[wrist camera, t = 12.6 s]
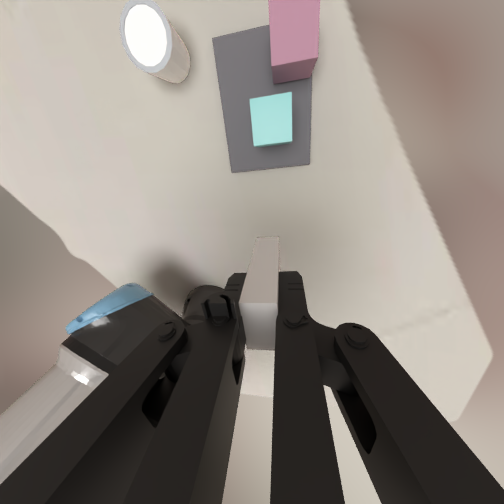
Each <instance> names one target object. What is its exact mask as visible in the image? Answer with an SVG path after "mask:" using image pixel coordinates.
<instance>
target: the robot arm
mask: <svg viewBox="0 0 504 504" xmlns="http://www.w3.org/2000/svg"><path fill="white" fill-rule="evenodd" d="M66 331H67V333H68V334H71V335H70V336H69V337H68V339H66V340H65V341H64V342H63V343H62V344H61V345H59V352H58V359H57V361H56V364H55V365H53V366H52V367H51V368H50V369H49V370H48V371H47V372H46V373H45V374H44V375H43V376H42V377H41V378H40V379H39V380H37V382H36V383H34V385H32V386H31V387H30V388H29V389H28V390H27V391H26V392H25V393H24V394H23V395H22V396H21V397H19V398H18V399H17V400H16V401H15V402H14V403H13V404H12V405H11V406H10V407H9V408H8V409H7V410H6V411H5V412H4V413H2V414H1V415H0V504H222V498H223V492H224V486H225V480H226V474H227V468H228V462H229V456H230V450H231V443H232V438H233V432H234V426H235V420H236V413H237V408H238V402H239V396H240V390H241V384H242V378H243V371H244V365H245V354H244V349H245V344H246V346H247V349H256V350H275V364H274V396H273V429H272V462H271V463H272V464H271V494H270V504H345V501H344V496H343V490H342V485H341V479H340V474H339V468H338V463H337V457H336V452H335V446H334V441H333V435H332V430H331V424H330V420H329V413H328V408H327V402H326V397H325V391H324V386H323V385H326V386H328V387H331V390H332V392H333V394H334V397H335V399H336V401H337V403H338V406H339V408H340V410H341V413H342V415H343V417H344V419H345V422H346V424H347V426H348V428H349V431H350V433H351V435H352V437H353V440H354V442H355V444H356V447H357V449H358V451H359V453H360V456H361V458H362V460H363V462H364V465H365V467H366V469H367V472H368V474H369V476H370V478H371V481H372V483H373V485H374V487H375V490H376V492H377V494H378V496H379V499H380V501H381V503H382V504H504V489H503V488H502V487H501V486H500V484H499V483H498V482H497V481H496V480H495V478H494V477H493V476H492V475H491V474H490V472H489V471H488V470H487V469H486V467H485V466H484V465H483V464H482V463H481V461H480V460H479V459H478V458H477V457H476V455H475V454H474V453H473V452H472V451H471V450H470V448H469V447H468V446H467V445H466V443H465V442H464V441H463V440H462V439H461V437H460V436H459V435H458V434H457V433H456V431H455V430H454V429H453V428H452V427H451V425H450V424H449V423H448V422H447V420H446V419H445V418H444V417H443V416H442V414H441V413H440V412H439V411H438V410H437V408H436V407H435V406H434V405H433V404H432V402H431V401H430V400H429V399H428V397H427V396H426V395H425V394H424V393H423V391H422V390H421V389H420V388H419V387H418V385H417V384H416V383H415V382H414V381H413V379H412V378H411V377H410V376H409V375H408V373H407V372H406V371H405V370H404V368H403V367H402V366H401V365H400V364H399V362H398V361H397V360H396V359H395V358H394V356H393V355H392V354H391V353H390V352H389V350H388V349H387V348H386V347H385V346H384V344H383V343H382V342H381V341H380V340H379V338H378V337H377V336H376V335H375V334H374V333H373V332H372V331H371V330H370V329H368V328H366V327H364V326H362V325H359V324H356V323H344V324H341V325H339V326H338V327H337V328H336V329H334V328H330V327H327V326H324V325H321V324H319V323H317V322H316V321H315V320H313V319H312V318H311V316H310V315H309V313H308V309H307V304H306V298H305V292H304V286H303V281H302V276H301V275H300V274H299V273H298V272H297V271H289V272H280V255H279V236H275V237H257V239H256V242H255V246H254V249H253V253H252V257H251V260H250V264H249V268H248V271H247V273H234V274H233V275H232V276H231V277H230V278H229V279H228V282H227V284H226V286H225V289H222V288H219V287H215V286H201V287H198V288H195V289H194V290H192V291H191V292H190V294H189V295H188V297H187V298H186V300H185V303H184V308H183V314H182V318H181V317H180V316H178V315H177V314H176V313H175V312H173V311H172V310H171V309H170V308H169V307H167V306H166V305H165V304H164V303H162V302H161V301H160V300H159V299H157V298H156V297H155V296H154V294H153V293H150V292H148V291H147V290H145V289H144V288H143V287H141V286H140V285H138V284H136V283H129V284H126V285H123V286H121V287H120V288H118V289H116V290H115V291H113V292H112V293H110V294H109V295H107V296H106V297H104V298H103V299H101V300H100V301H98V302H97V303H95V304H94V305H93V306H91V307H90V308H88V309H87V310H86V311H84V312H83V313H82V314H81V315H79V316H78V317H77V318H76V319H74V320H73V321H71V322H70V323H69V324H68V325H67V326H66Z"/></svg>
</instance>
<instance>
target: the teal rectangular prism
mask: <svg viewBox="0 0 504 504" xmlns="http://www.w3.org/2000/svg"><path fill="white" fill-rule="evenodd" d="M249 100H250V111H251V121H252V132H253V143H254V146H255V147H264V146H272V145H280V144H288V143H291V142H292V92H287V93H282V94H276V95H270V96H264V97H258V98H253V99H249Z"/></svg>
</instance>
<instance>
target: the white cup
mask: <svg viewBox="0 0 504 504" xmlns="http://www.w3.org/2000/svg"><path fill="white" fill-rule="evenodd" d="M120 35H121V40H122V45H123V47H124V49H125V51H126V53H127V55H128V58H129V59H130V60H131V61H132V62H133V63H134V64H135V66H136V67H137V68H139V69H141V70H143V71H144V72H146V73H149V74H151V75H153V76H156V77H158V78H161V79H163V80H166V81H168V82H171V83H180V82H182V81H184V80H185V78H186V77H187V75H188V74H189V69H190V56H189V53H188V50H187V47H186V46H185V44H184V42H183V41H182V39H181V38H180V36H179V35H178V33H177V32H176V30H175V29H174V27H173V26H172V24H171V23H170V21H169V20H168V18H167V17H166V15H165V14H164V13H163V11H162V10H161V9H160V7H159V6H158V5H157V3H156V2H154V1H152V0H129V1H128V2H127V3H126V4H125V6H124V9H123V11H122V13H121V17H120Z"/></svg>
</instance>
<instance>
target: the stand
mask: <svg viewBox="0 0 504 504" xmlns="http://www.w3.org/2000/svg"><path fill="white" fill-rule="evenodd" d="M268 2H269V24H270V25H266V26H262V27H257V28H253V29H249V30H245V31H240V32H236V33H232V34H228V35H223V36H219V37H215V38H212V41H213V47H214V54H215V61H216V68H217V75H218V82H219V89H220V96H221V102H222V109H223V116H224V123H225V130H226V137H227V144H228V151H229V158H230V164H231V171H232V173H234V172H243V171H252V170H262V169H271V168H280V167H289V166H298V165H307V164H310V134H311V94H312V71H313V69H314V66H315V63H316V61H317V58H318V43H319V14H320V0H268ZM287 92H292V142H291V143H288V144H280V145H272V146H264V147H255V146H254V143H253V132H252V121H251V111H250V100H249V99H253V98H258V97H264V96H270V95H276V94H282V93H287Z"/></svg>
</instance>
